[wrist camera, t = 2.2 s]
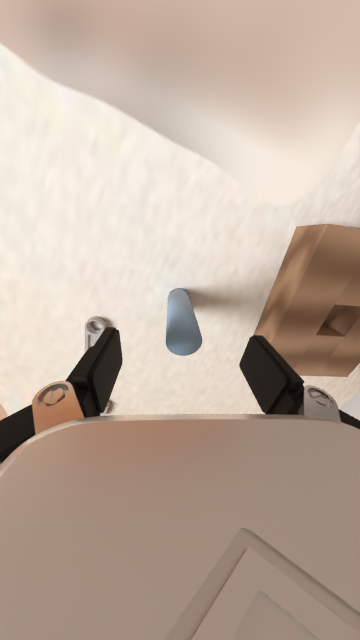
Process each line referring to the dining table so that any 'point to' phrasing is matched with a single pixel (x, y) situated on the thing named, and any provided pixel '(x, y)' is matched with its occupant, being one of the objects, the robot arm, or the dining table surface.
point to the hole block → (317, 302)
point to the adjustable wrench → (94, 340)
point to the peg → (181, 324)
